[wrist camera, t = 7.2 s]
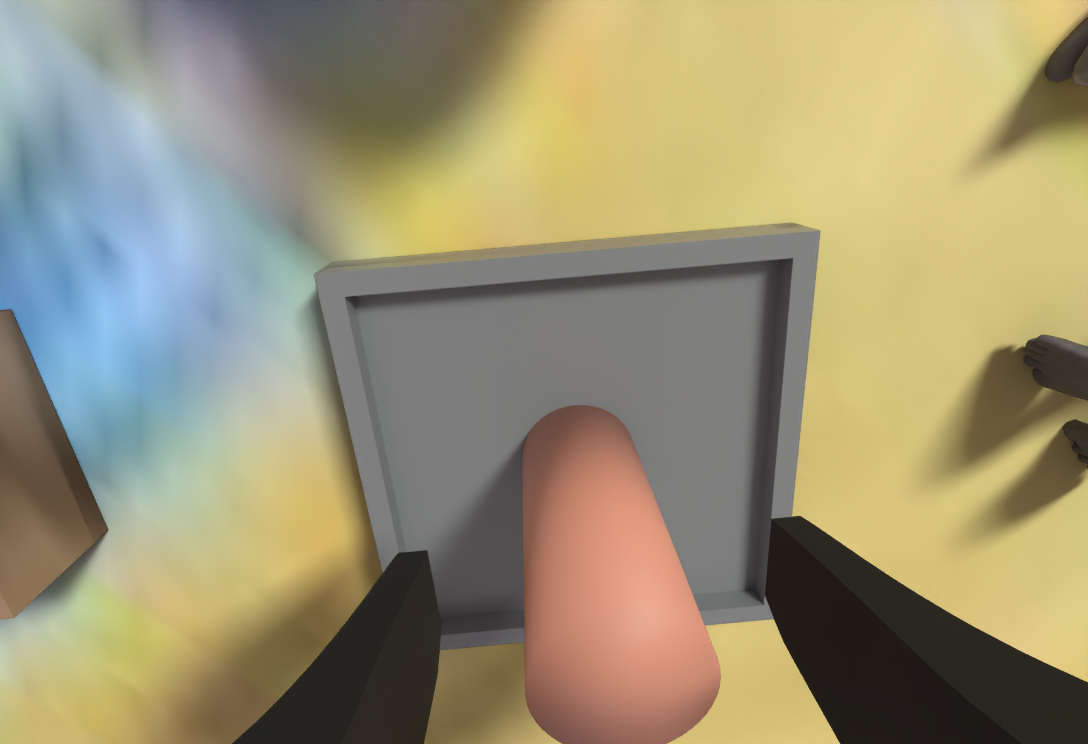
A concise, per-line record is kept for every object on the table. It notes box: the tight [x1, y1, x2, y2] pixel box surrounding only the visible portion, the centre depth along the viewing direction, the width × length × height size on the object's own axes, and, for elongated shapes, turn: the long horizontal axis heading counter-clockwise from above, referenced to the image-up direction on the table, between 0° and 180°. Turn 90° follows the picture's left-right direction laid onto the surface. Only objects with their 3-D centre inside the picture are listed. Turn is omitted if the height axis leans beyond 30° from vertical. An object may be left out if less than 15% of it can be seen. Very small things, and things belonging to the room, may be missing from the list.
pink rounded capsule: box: [522, 405, 721, 744], centre depth 13 cm, size 3×3×8 cm
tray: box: [314, 223, 820, 650], centre depth 16 cm, size 12×12×2 cm
